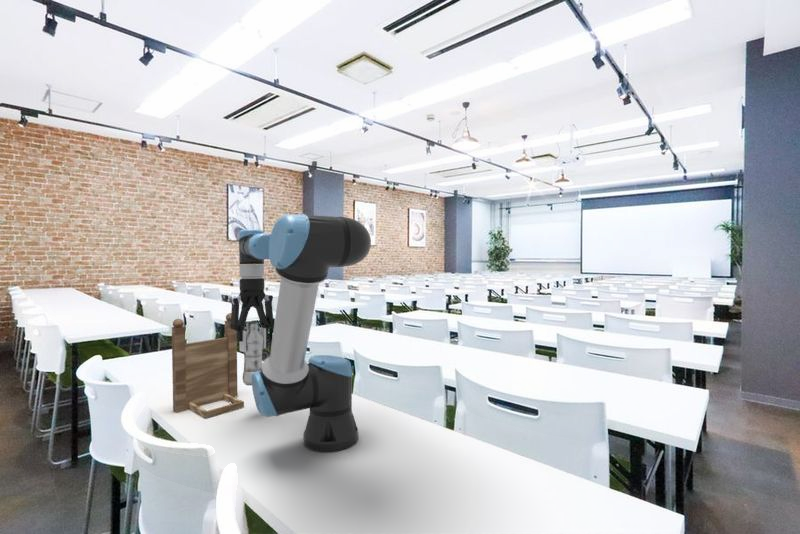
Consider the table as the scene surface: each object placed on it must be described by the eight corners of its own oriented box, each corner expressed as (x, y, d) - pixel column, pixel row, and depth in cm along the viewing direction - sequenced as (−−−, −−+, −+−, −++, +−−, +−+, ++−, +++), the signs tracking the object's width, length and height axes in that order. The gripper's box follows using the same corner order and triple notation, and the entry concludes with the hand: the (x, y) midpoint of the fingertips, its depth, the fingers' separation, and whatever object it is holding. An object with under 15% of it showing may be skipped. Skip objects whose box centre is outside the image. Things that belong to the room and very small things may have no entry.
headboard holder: (255, 404, 144) (254, 316, 143) (191, 422, 128) (190, 323, 127) (233, 394, 154) (232, 312, 153) (172, 410, 138) (171, 318, 137)
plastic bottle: (257, 388, 129) (256, 324, 129) (238, 387, 130) (237, 324, 130) (268, 382, 135) (267, 321, 135) (249, 381, 137) (248, 321, 136)
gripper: (272, 276, 142) (273, 343, 142) (216, 278, 128) (218, 353, 128) (284, 276, 137) (285, 346, 137) (228, 279, 123) (229, 356, 123)
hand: (253, 349), depth 133 cm, fingers closed on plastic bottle, 6 cm apart
